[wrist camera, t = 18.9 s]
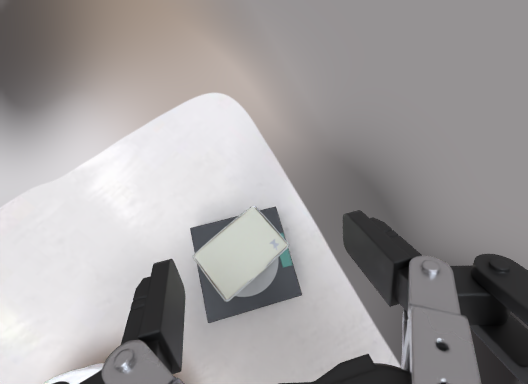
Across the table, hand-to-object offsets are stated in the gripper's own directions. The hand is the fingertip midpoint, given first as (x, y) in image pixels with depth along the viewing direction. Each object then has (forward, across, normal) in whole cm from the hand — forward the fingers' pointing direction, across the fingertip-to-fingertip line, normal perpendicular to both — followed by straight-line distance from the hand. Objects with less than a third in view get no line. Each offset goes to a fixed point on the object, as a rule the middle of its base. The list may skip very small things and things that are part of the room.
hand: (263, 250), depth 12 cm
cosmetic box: (+15, +1, +13) cm, 20 cm away
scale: (+17, +1, +15) cm, 23 cm away
